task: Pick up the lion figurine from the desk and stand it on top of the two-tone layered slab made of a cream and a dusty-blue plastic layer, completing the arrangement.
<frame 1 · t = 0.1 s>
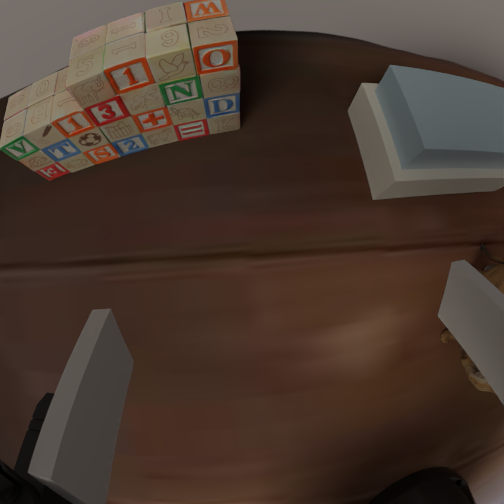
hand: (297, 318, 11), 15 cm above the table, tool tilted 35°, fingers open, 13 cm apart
lion figurine: (464, 315, 26), on the table
stack of blocks: (134, 129, 29), on the table
two-tone layered slab: (431, 151, 28), on the table
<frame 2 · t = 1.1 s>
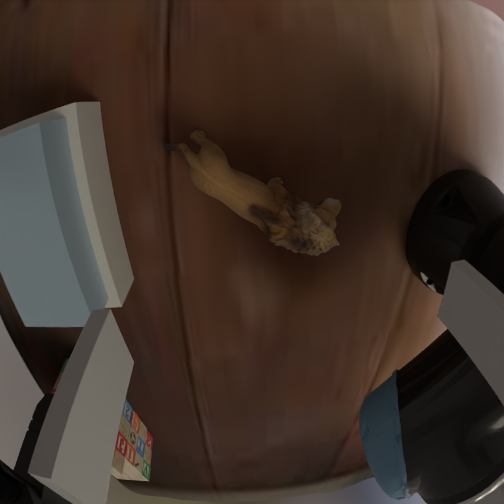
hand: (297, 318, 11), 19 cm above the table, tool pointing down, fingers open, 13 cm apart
lion figurine: (247, 175, 27), on the table
stack of blocks: (113, 402, 41), on the table
two-tone layered slab: (70, 203, 26), on the table
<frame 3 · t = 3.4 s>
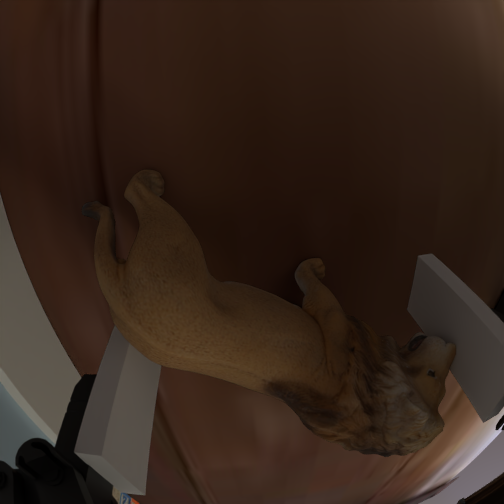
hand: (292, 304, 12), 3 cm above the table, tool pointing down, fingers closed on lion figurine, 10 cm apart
lion figurine: (256, 256, 14), on the table, touching gripper
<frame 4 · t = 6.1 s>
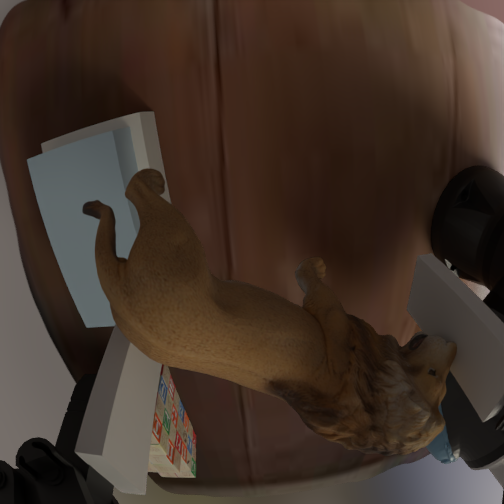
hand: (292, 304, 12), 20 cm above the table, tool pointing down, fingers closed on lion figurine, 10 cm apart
lion figurine: (256, 255, 14), point 17 cm above the table, touching gripper
stack of blocks: (164, 403, 44), on the table
two-tone layered slab: (124, 208, 30), on the table
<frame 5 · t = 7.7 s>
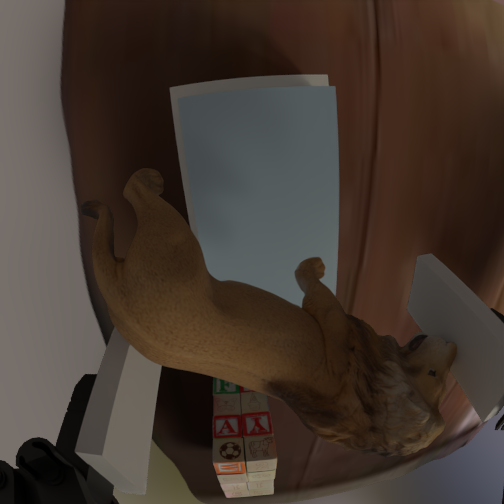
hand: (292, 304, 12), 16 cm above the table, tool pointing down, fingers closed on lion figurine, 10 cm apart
lion figurine: (255, 255, 14), point 13 cm above the table, touching gripper
stack of blocks: (242, 417, 40), on the table
two-tone layered slab: (255, 191, 25), on the table
when the fingers open (13 cm above the table, at t = 9.0 s): lion figurine drops 1 cm, resting on two-tone layered slab.
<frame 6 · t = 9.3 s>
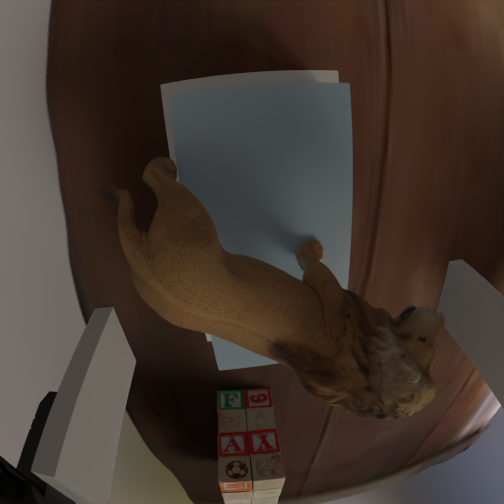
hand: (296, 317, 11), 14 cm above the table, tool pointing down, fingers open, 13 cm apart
lion figurine: (259, 238, 15), point 9 cm above the table, touching two-tone layered slab
stack of blocks: (244, 430, 38), on the table
two-tone layered slab: (256, 198, 23), on the table
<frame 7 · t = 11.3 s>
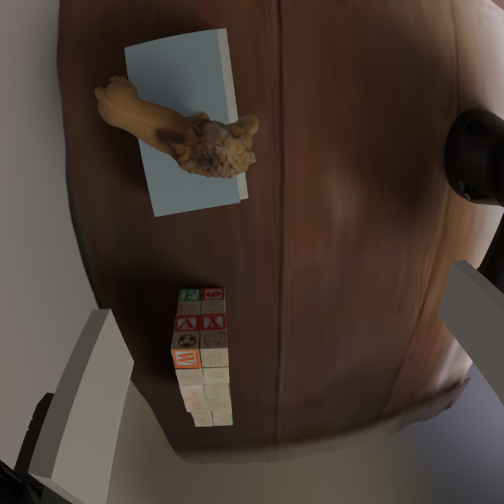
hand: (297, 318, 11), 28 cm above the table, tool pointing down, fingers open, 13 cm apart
lion figurine: (172, 116, 24), point 9 cm above the table, touching two-tone layered slab
stack of blocks: (206, 342, 48), on the table
two-tone layered slab: (190, 118, 32), on the table
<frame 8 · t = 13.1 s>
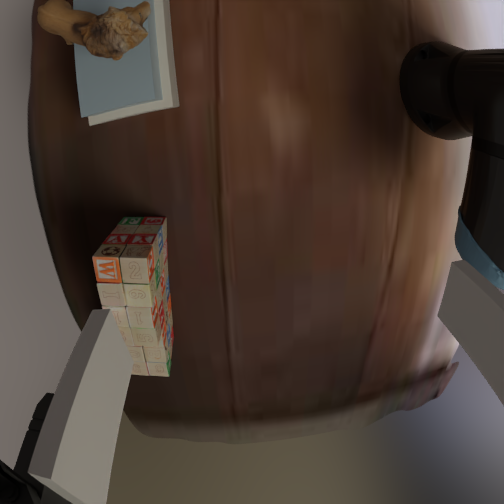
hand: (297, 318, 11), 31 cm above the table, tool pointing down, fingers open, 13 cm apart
lion figurine: (103, 30, 22), point 9 cm above the table, touching two-tone layered slab
stack of blocks: (150, 281, 45), on the table
two-tone layered slab: (133, 48, 30), on the table
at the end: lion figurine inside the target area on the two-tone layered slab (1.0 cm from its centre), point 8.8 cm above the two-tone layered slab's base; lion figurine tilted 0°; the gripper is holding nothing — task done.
